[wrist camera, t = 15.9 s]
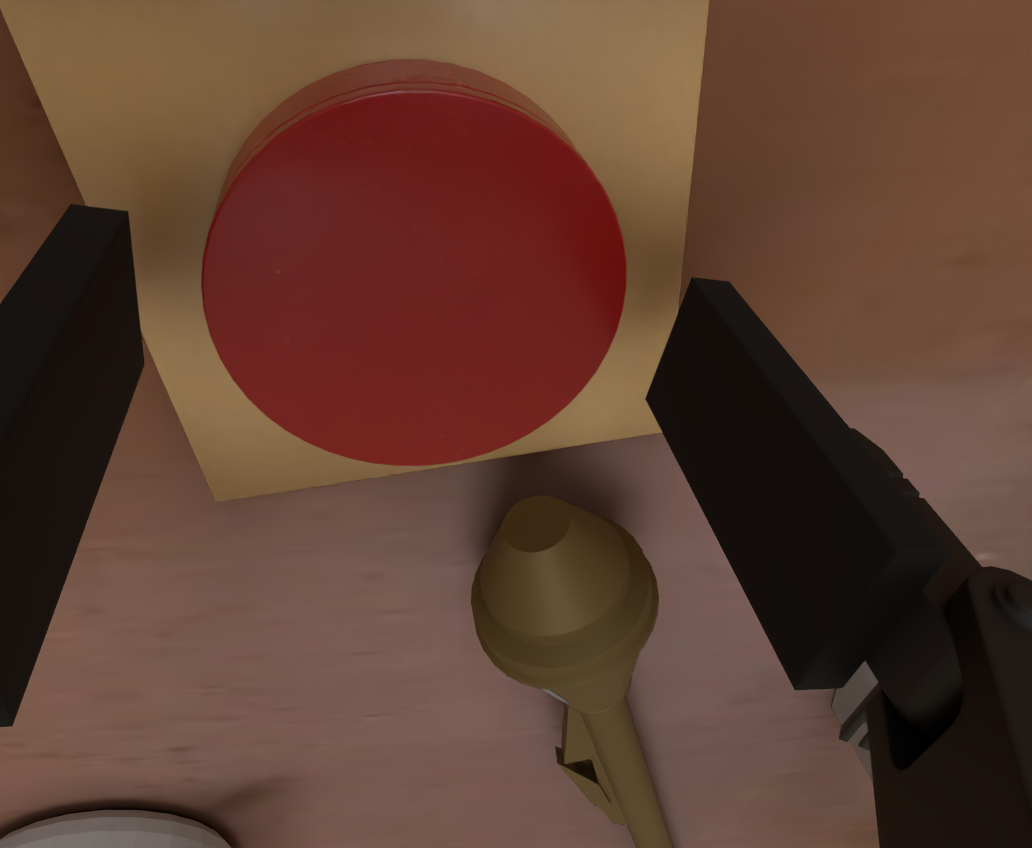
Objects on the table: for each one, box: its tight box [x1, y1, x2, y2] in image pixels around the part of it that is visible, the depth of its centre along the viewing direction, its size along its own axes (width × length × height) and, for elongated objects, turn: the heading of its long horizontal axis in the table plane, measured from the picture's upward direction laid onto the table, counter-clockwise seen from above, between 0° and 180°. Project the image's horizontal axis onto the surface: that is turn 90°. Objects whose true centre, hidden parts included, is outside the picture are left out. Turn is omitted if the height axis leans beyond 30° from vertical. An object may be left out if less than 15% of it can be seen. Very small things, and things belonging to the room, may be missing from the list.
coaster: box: [0, 0, 709, 502], centre depth 15 cm, size 11×11×1 cm
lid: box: [201, 60, 627, 466], centre depth 14 cm, size 8×7×2 cm
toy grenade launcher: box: [471, 495, 673, 848], centre depth 29 cm, size 5×35×5 cm
